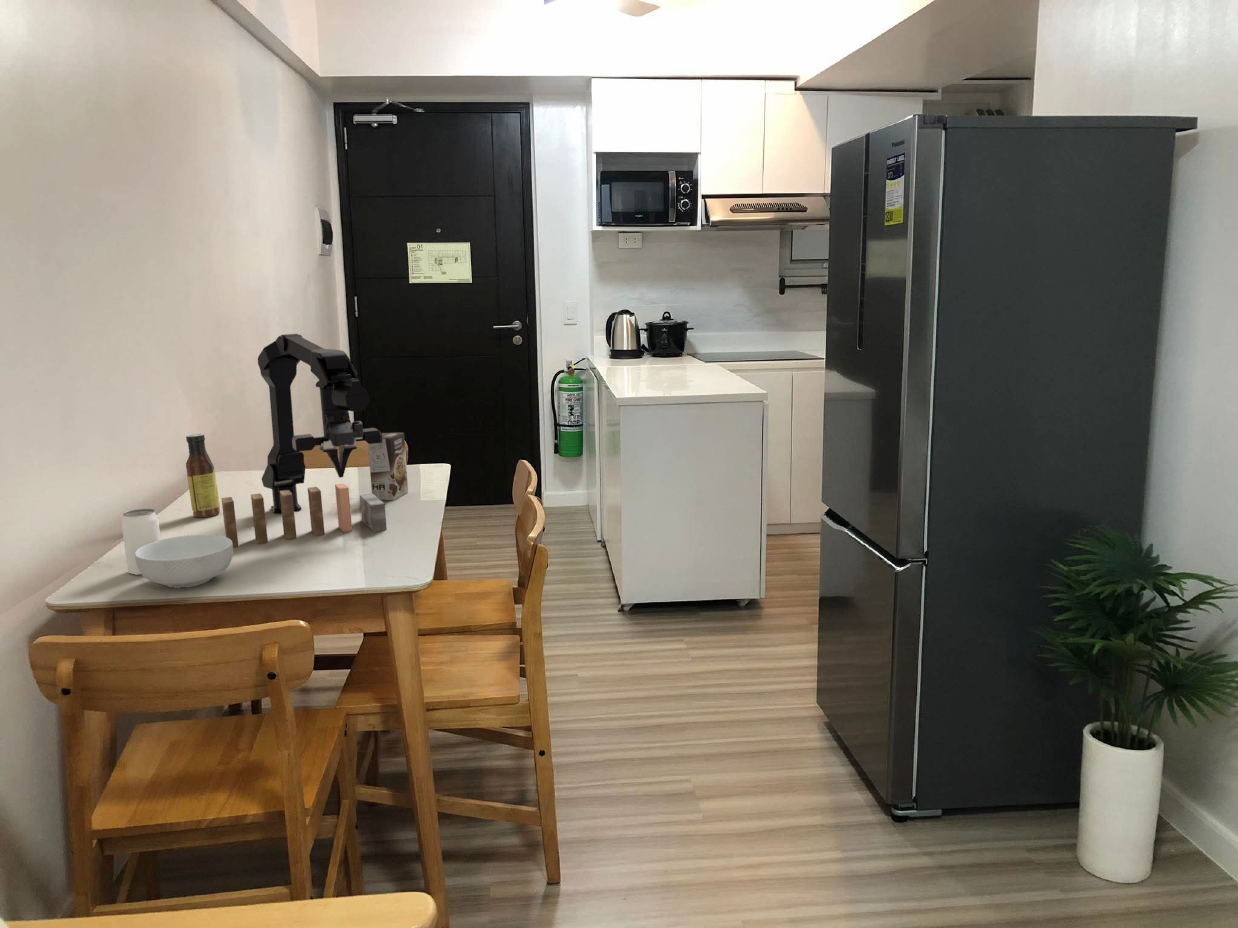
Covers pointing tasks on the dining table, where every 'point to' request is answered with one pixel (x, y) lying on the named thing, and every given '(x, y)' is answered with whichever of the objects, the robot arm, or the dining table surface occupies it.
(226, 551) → the cereal bowl
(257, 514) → the domino
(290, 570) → the dining table surface
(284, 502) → the domino
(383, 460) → the coffee box
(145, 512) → the can
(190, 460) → the sauce bottle
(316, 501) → the domino
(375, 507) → the end stop
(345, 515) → the end tile
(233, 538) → the domino
